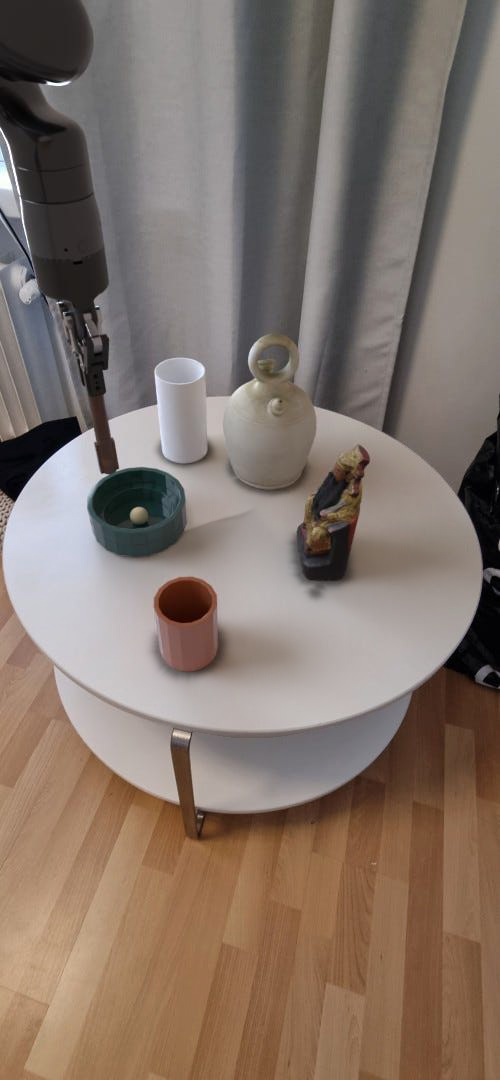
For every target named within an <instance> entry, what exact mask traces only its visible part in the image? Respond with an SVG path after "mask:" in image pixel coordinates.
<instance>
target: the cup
mask: <svg viewBox="0 0 500 1080" xmlns="http://www.w3.org/2000/svg"><path fill="white" fill-rule="evenodd" d="M206 379H207V378H206V368H205V366H204V365H203V364H202V363H201V362H199V361H198V360H195V359H193V358H189V357H173V358H169V359H165V360H163V361H161V362H160V363H158V364H157V365H156V366H155V368H154V381H155V391H156V402H157V412H158V413H157V414H158V423H159V431H160V443H161V451H162V454H163V456H164V457H165V458H166V459H167V460H169V461H171V462H173V463H176V464H191V463H192V464H193V463H195V462H198V461H200V460H202V459H203V458H204V457H205V456H206V454H207V453H208V447H209V446H208V422H207V421H208V419H207V418H208V417H207V416H208V415H207V380H206Z"/></svg>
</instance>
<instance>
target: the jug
mask: <svg viewBox="0 0 500 1080" xmlns="http://www.w3.org/2000/svg"><path fill="white" fill-rule="evenodd" d="M273 346H279V347H281V348H284V349H285V350H286V351H287V352H288V354H289V357H288V358H289V359H288V362H287V364H286V366H285V367H283V368H282V369H280V370H278V371H274V369H275V368H274V366H275V363H276V360H275V359H274V358H272V359H271V358H268V359H260V356H261V355H262V353H263V352H264V351H265V350H266V349H267V350H268V348H270V347H273ZM247 363H248V368H249V371H250V373H251V374H252V376H253V379H251V380H250V381H247V382H245V383H244V384H242V385H240V386H239V387H238V388H237V389H236V390H235V391H234V392H233V393H232V395H231V396H230V398H229V399H228V401H227V403H226V405H225V409H224V411H223V416H222V430H223V436H224V441H225V445H226V450H227V454H228V459H229V462H230V464H231V465H230V466H231V467H232V470H233V472H234V474H235V476H236V477H237V478H238V479H239V480H240V481H241V482H242V483H243V484H246V485H248V486H249V487H252V488H255V489H259V490H262V491H275V490H282V489H285V488H287V487H290V486H292V485H293V484H295V483H296V482H297V481H298V480H299V478H300V477H301V475H302V473H303V471H304V468H305V466H306V464H307V461H308V458H309V456H310V453H311V451H312V447H313V444H314V441H315V438H316V434H317V415H316V409H315V406H314V404H313V402H312V400H311V398H310V396H309V394H307V392H306V391H305V390H304V389H302V387H300V386H299V385H297V384H295V383H294V382H292V381H290V379H291V378H293V377H294V375H295V374H296V372H297V371H298V368H299V365H300V353H299V349H298V347H297V345H296V343H295V342H294V341H293V340H292V339H291V338H289V337H288V336H287V335H285V334H283V333H282V334H281V333H278V332H273V333H267V334H265V335H263V336H261V337H260V338H259V339H257V341H255V342H254V343H253V345H252V346H251V348H250V350H249V353H248V358H247Z"/></svg>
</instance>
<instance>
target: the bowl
mask: <svg viewBox="0 0 500 1080" xmlns="http://www.w3.org/2000/svg"><path fill="white" fill-rule="evenodd" d="M186 501H187V500H186V493H185V488H184V487H183V485H182V484H181V482H180V481H179V480H178V478H176V477H175V476H173V475H172V474H171V473H170V472H167V471H165V470H161V469H158V468H155V467H146V466H134V467H127V468H122V469H118V470H116V472H115V473H113V474H106V475H105V476H104V477H101V479H99V480H98V481H97V482H96V483H95V484H94V485H93V486H92V487H91V489H90V491H89V493H88V496H87V499H86V510H87V514H88V518H89V522H90V526H91V530H92V534H93V536H94V538H95V540H96V542H97V543H98V544H99V545H100V546H102V548H103V549H105V550H106V551H108V552H110V553H113V554H115V555H116V556H121V557H128V558H140V557H149V556H153V555H155V554H158V553H162V552H164V551H166V550H168V549H169V548H171V547H172V546H174V545H175V544H176V543H177V542H178V541H179V540H180V539H181V538H182V536H183V535H184V533H185V530H186V527H187V525H188V518H187V515H188V514H187V503H186ZM136 507H142V508H144V509H145V510H146V511H147V513H148V520H147V521H146V522H145V523H144V524H142V525H136V524H134V523H133V522H132V521H131V519H130V513H131V511H132V510H133V509H134V508H136Z"/></svg>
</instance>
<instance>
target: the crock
mask: <svg viewBox="0 0 500 1080" xmlns="http://www.w3.org/2000/svg"><path fill="white" fill-rule="evenodd" d="M153 613H154V619H155V626H156V630H157V631H156V633H157V640H158V647H159V651H160V654H161V658H162V659H163V661H164V662H165V663H166V664H167V665H168V666H169V667H171V668H172V669H174V670H177V671H180V672H194V671H198V670H202V669H203V668H206V667H207V666H208V665H209V664H211V662H212V661H213V660H214V659H215V657H216V656H217V652H218V650H219V649H218V648H219V633H218V632H219V626H218V625H219V623H218V621H219V620H218V619H219V618H218V617H219V616H218V595H217V593H216V591H215V589H214V587H213V585H212V584H210V583H208V582H207V581H205V580H204V579H202V578H198V577H195V576H178V577H175V578H172V579H170V580H168V581H166V582H165V583H163V585H161V586H160V587H159V588H158V589H157V592H156V593H155V595H154V597H153Z"/></svg>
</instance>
